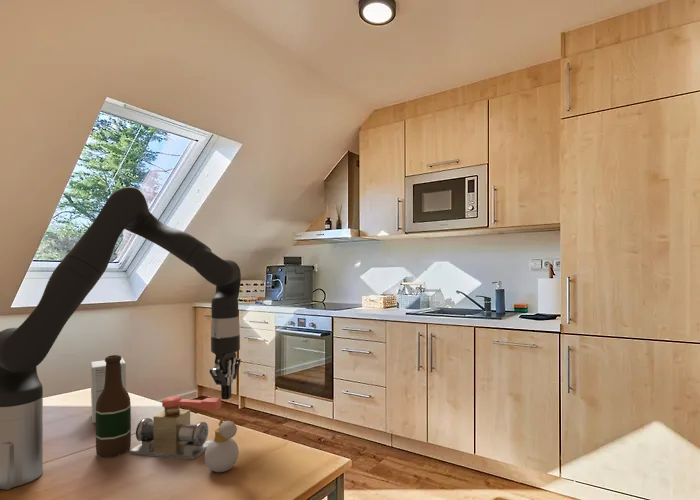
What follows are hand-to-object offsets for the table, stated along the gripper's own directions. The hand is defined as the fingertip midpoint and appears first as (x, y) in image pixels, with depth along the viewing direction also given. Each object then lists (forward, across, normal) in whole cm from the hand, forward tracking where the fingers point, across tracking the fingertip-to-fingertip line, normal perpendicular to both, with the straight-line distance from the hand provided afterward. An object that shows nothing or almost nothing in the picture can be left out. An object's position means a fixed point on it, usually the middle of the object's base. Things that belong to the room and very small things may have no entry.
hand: (226, 398), depth 117 cm
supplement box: (+11, -9, -46) cm, 48 cm away
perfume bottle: (+11, +16, +9) cm, 21 cm away
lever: (0, +8, -5) cm, 10 cm away
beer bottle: (+11, +12, -25) cm, 30 cm away
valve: (+11, +8, -11) cm, 17 cm away
